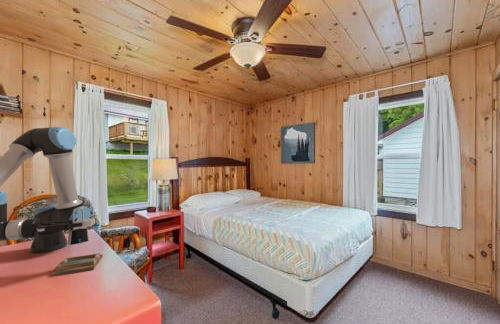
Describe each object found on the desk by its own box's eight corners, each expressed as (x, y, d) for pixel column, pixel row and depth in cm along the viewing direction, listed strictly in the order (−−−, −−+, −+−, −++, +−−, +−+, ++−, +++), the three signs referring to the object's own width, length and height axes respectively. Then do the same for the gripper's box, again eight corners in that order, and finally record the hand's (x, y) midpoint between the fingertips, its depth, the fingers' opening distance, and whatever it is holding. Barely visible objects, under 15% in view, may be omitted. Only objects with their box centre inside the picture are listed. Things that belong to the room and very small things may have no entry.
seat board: (66, 262, 104) (66, 256, 104) (102, 256, 109) (102, 251, 109) (51, 276, 90) (51, 269, 90) (93, 269, 95) (93, 263, 95)
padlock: (86, 239, 103) (85, 206, 103) (89, 241, 100) (88, 206, 101) (67, 243, 98) (67, 208, 98) (70, 245, 95) (69, 209, 96)
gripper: (35, 233, 100) (98, 226, 109) (12, 244, 85) (87, 235, 94) (35, 216, 101) (97, 210, 109) (12, 223, 85) (87, 217, 94)
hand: (93, 222), depth 101 cm, fingers closed on padlock, 3 cm apart
